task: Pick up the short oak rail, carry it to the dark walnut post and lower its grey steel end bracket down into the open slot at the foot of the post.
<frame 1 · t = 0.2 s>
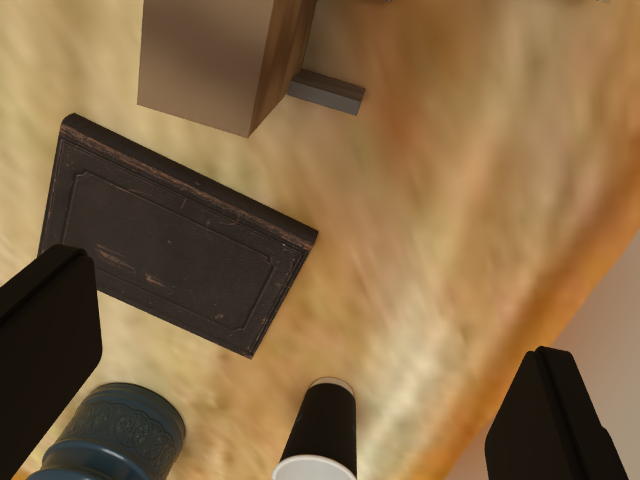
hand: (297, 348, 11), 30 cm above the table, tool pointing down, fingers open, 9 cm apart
dixie cup: (331, 392, 54), on the table
hardcover book: (177, 238, 48), on the table
headboard post: (271, 11, 36), on the table
canister: (137, 418, 61), on the table
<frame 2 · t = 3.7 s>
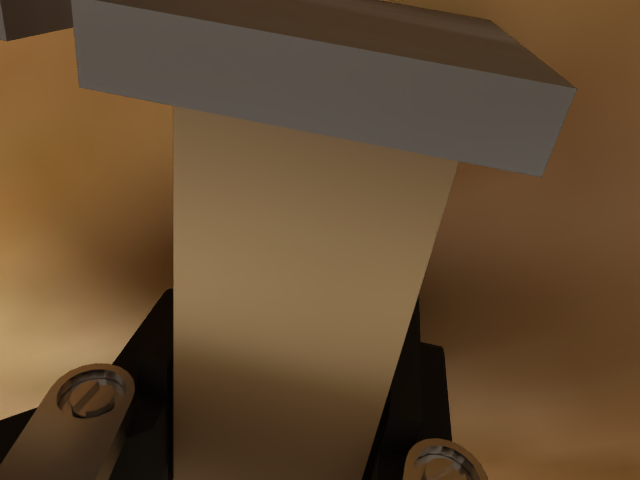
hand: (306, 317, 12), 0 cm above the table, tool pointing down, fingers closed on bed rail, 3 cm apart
bed rail: (310, 305, 12), on the table, touching gripper
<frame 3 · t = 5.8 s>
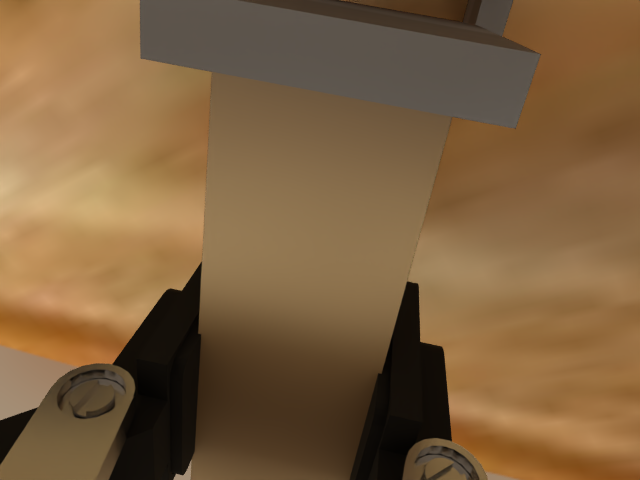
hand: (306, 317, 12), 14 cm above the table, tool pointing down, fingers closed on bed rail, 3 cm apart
bed rail: (315, 289, 13), point 13 cm above the table, touching gripper
when the fingers open (2 cm above the table, at t = 8.2 s): bed rail stays where it is, on the table.
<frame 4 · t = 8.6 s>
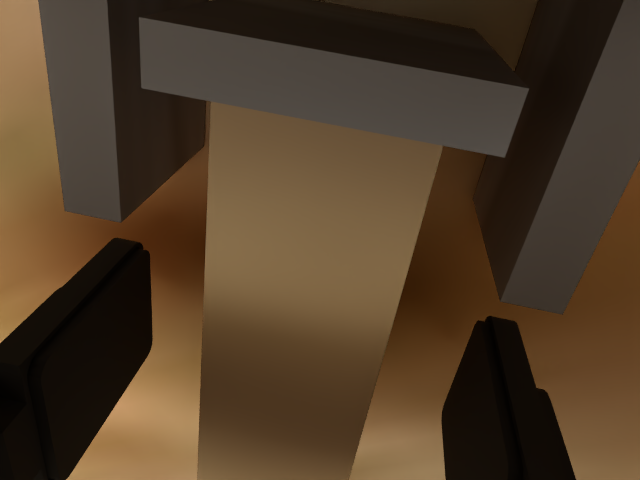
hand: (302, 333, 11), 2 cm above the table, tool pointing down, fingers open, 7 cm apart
bed rail: (316, 284, 13), on the table
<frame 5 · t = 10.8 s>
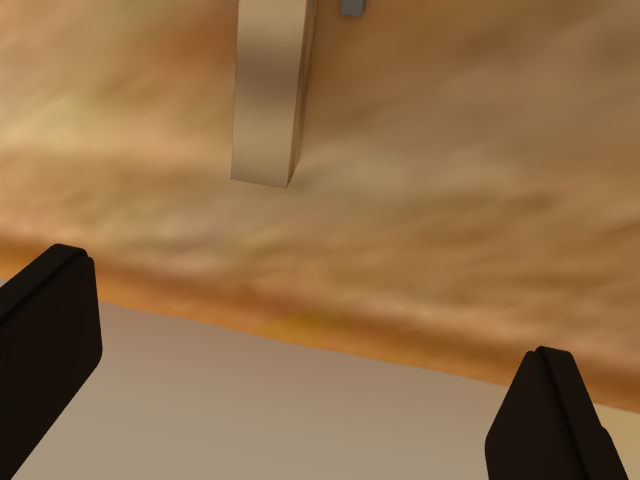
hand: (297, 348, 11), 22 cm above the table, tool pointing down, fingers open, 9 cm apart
bed rail: (283, 59, 29), on the table
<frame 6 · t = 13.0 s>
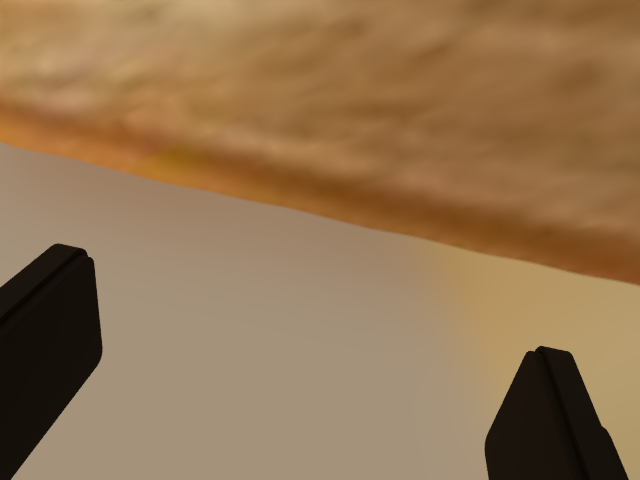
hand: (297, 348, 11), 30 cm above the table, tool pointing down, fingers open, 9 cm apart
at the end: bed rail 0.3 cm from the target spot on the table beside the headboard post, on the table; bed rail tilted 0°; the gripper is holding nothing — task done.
